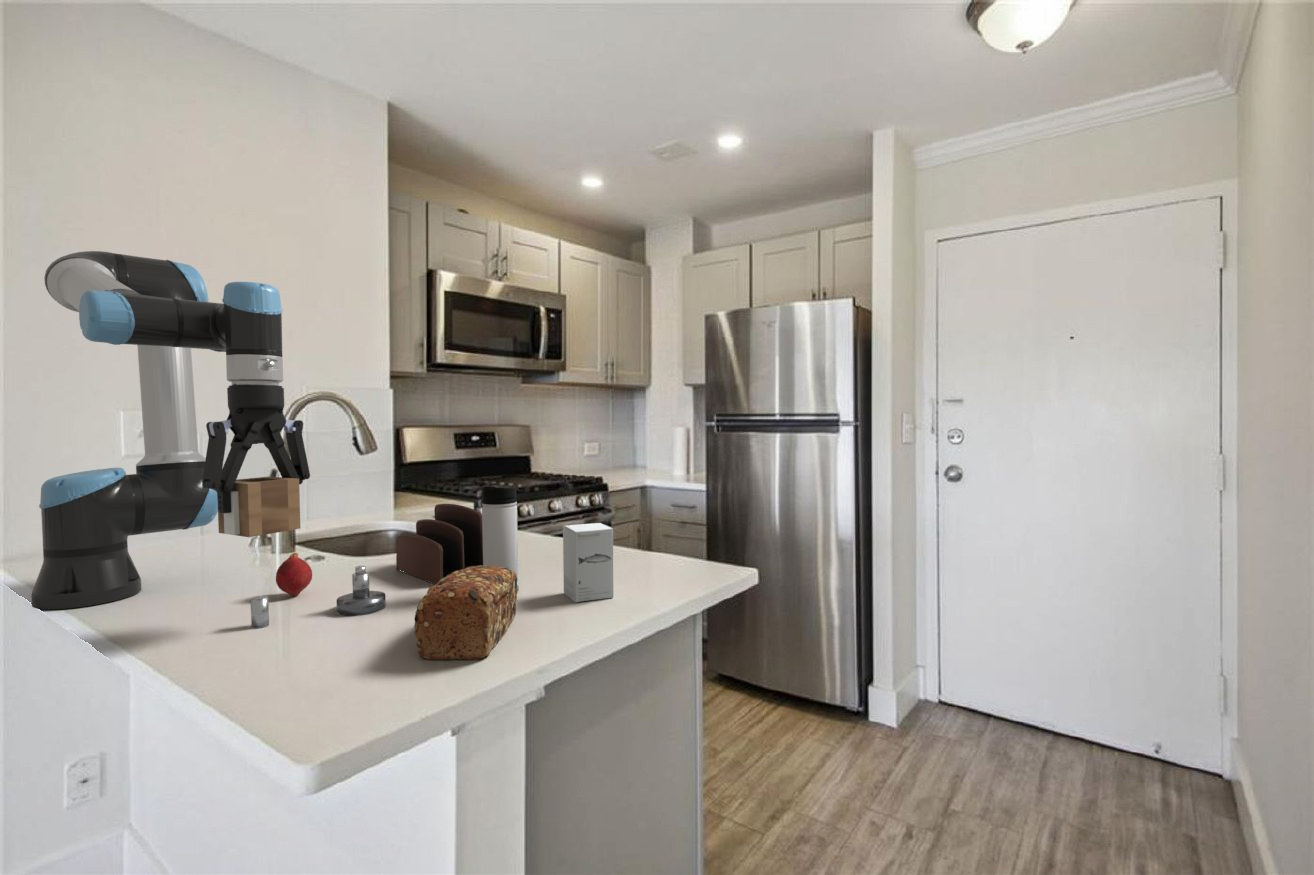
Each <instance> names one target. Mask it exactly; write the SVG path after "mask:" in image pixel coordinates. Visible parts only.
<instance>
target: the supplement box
mask: <svg viewBox="0 0 1314 875" xmlns="http://www.w3.org/2000/svg"><path fill="white" fill-rule="evenodd" d="M562 547H563V548H562V555H563V557H562V560H563V562H562V563H563V570H562V571H563V593H564V595H566V596H567V597H568V598H569V599H570V600H572V602H573V603H576V604H577V603H579V602H588V601H594V600H603V599H612V598H614V596H615V595H614V594H615V593H614V592H615V591H614V528H612V527H611V526H609V525H607V524H603V523H601V522H595V523H582V524H581V523H580V524H568V525H563V526H562Z"/></svg>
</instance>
